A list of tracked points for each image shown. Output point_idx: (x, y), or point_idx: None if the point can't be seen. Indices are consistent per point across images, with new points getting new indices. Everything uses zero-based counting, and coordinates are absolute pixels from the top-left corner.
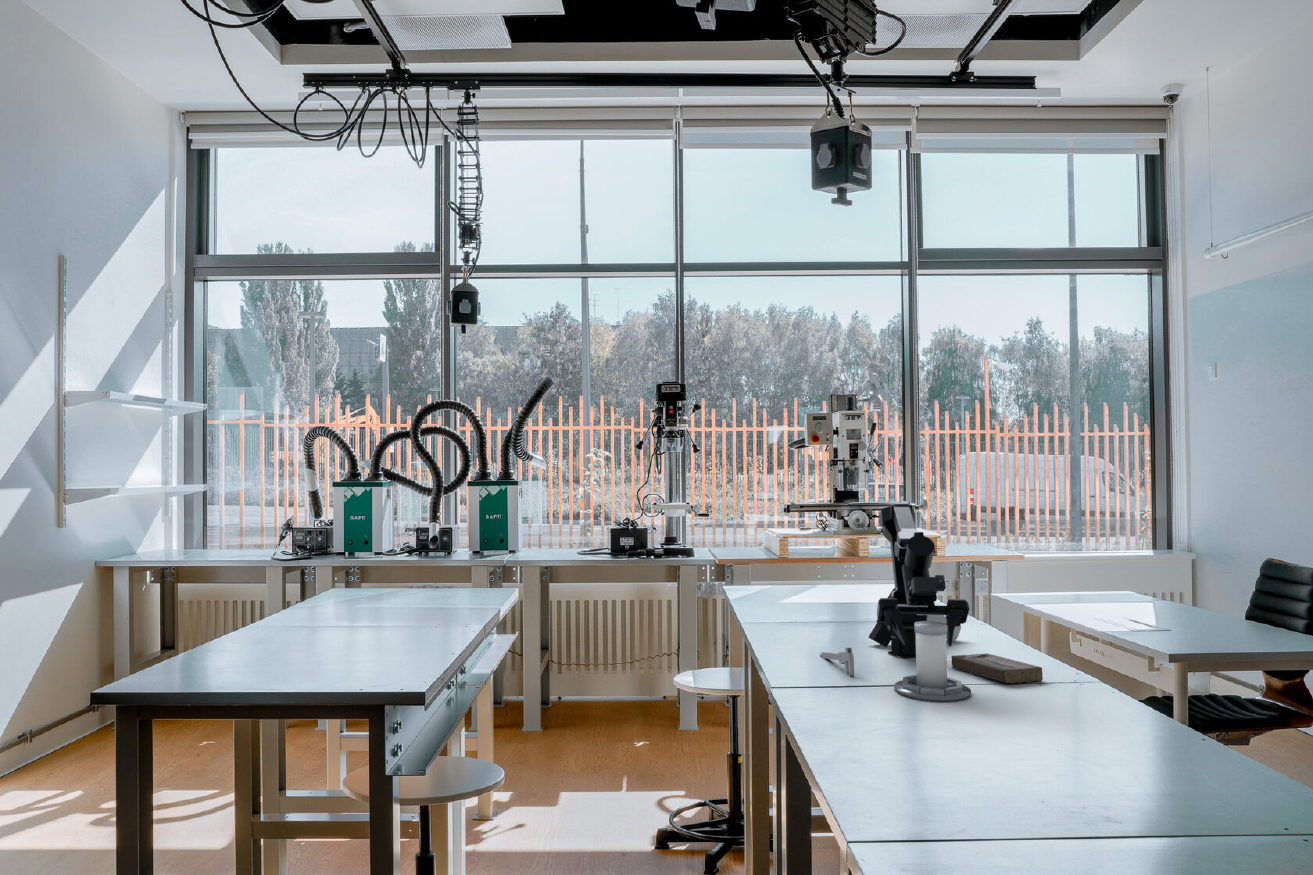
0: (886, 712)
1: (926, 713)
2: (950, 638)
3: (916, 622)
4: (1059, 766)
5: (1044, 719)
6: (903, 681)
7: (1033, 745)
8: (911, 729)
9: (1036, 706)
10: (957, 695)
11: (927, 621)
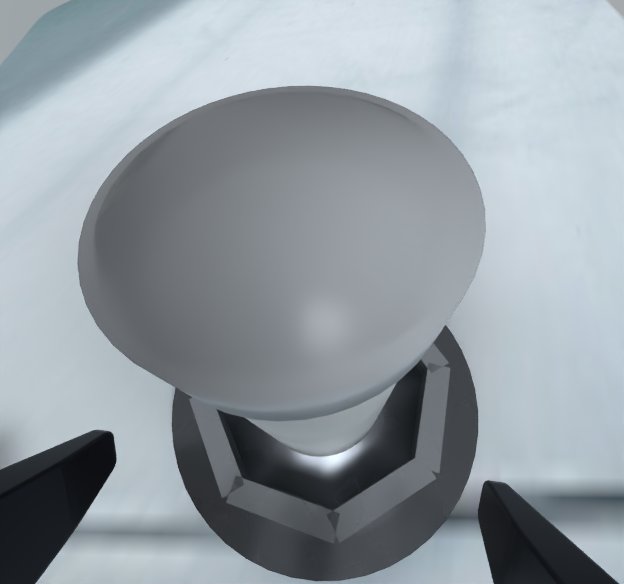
0: (501, 187)
1: None
2: (61, 452)
3: (450, 280)
4: (261, 23)
5: None
6: (444, 388)
7: (252, 68)
8: (447, 104)
9: None
10: None
11: (249, 362)
